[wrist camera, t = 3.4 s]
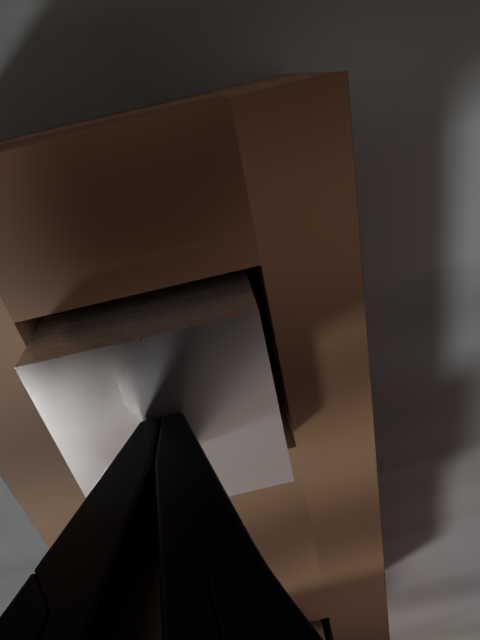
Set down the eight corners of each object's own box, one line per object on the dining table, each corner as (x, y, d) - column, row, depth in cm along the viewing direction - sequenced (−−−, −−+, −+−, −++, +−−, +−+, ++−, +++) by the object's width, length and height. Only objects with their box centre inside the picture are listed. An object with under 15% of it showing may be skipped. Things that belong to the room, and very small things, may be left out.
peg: (262, 367, 14) (294, 481, 10) (124, 400, 14) (101, 526, 10) (233, 233, 12) (258, 310, 8) (70, 271, 12) (14, 367, 8)
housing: (354, 589, 23) (394, 707, 19) (186, 629, 23) (187, 756, 19) (286, 74, 12) (347, 71, 7) (-49, 152, 12) (-186, 195, 7)
